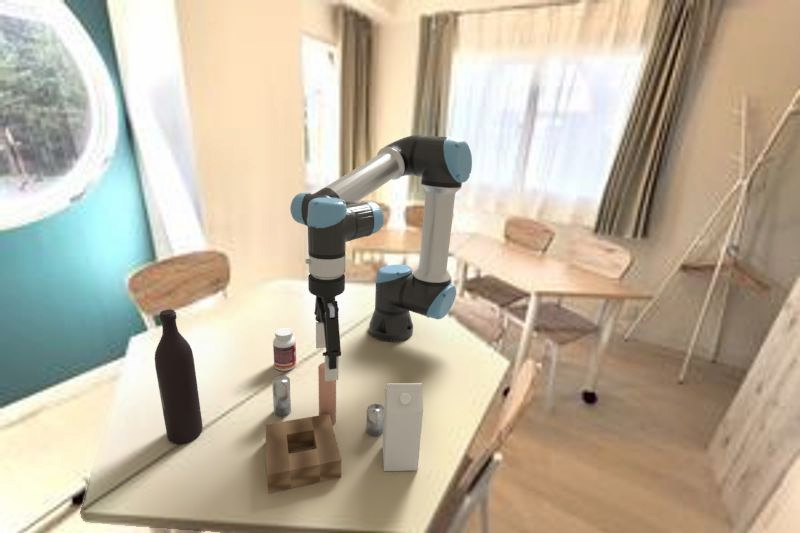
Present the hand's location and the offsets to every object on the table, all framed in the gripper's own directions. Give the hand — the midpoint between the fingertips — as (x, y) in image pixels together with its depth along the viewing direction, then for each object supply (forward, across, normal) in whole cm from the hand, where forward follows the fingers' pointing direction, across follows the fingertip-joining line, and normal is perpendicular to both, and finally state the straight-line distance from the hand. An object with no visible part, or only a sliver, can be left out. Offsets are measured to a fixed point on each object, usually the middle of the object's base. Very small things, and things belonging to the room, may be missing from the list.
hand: (326, 362), depth 92 cm
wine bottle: (+17, -4, -31) cm, 35 cm away
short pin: (+16, +6, +10) cm, 20 cm away
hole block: (+16, +10, -7) cm, 20 cm away
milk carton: (+16, +15, +13) cm, 26 cm away
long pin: (+16, 0, 0) cm, 16 cm away
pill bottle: (+16, -26, -8) cm, 32 cm away
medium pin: (+16, -6, -10) cm, 20 cm away
